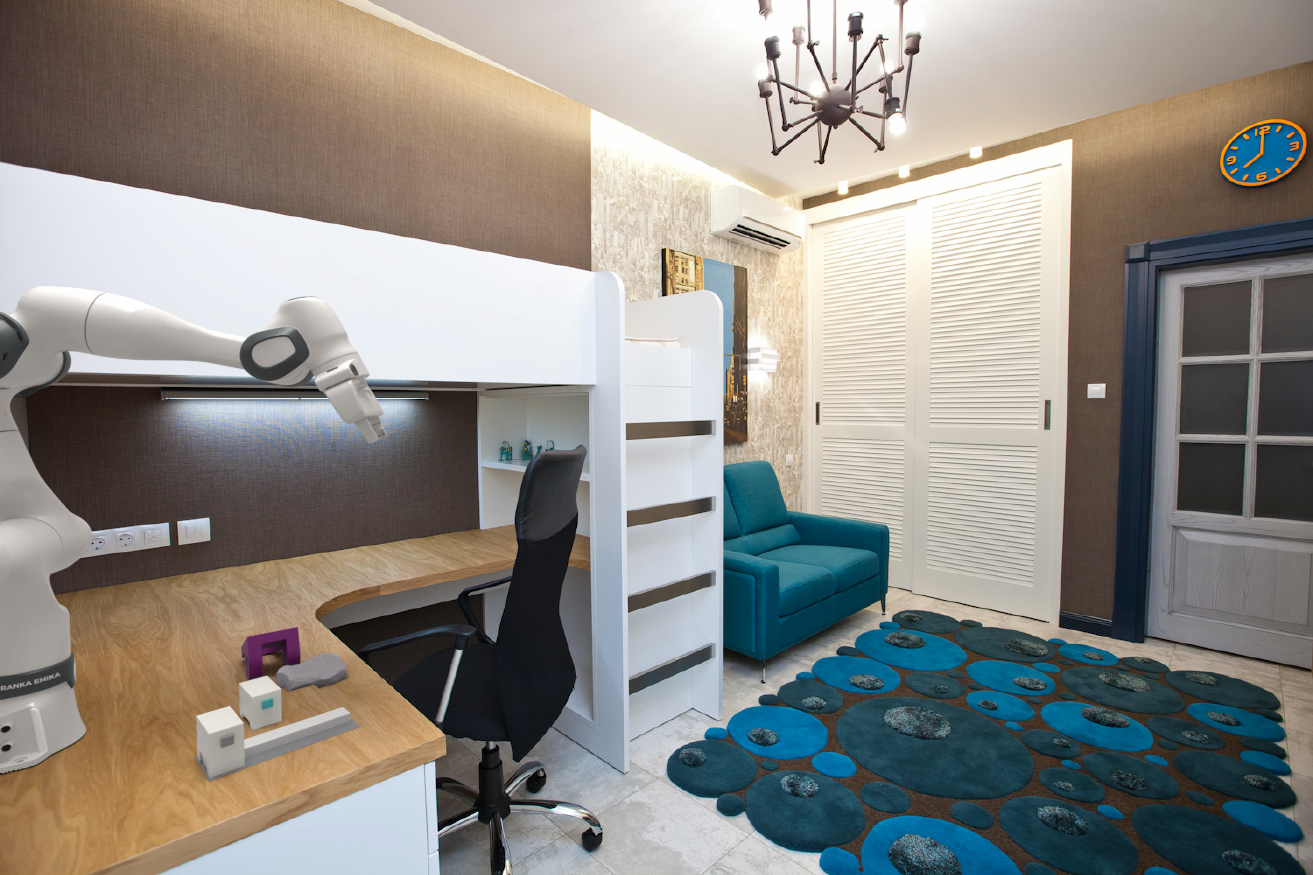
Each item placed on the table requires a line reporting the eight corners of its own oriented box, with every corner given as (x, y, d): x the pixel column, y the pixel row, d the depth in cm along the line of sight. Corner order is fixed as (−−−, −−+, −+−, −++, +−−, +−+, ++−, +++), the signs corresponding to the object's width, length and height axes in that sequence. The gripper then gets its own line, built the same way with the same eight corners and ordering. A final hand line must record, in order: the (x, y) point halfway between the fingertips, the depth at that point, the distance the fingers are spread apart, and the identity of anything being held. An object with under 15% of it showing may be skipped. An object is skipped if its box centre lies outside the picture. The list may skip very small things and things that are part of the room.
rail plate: (209, 787, 91) (208, 771, 91) (194, 762, 98) (194, 747, 98) (360, 731, 107) (360, 717, 107) (339, 713, 114) (338, 700, 114)
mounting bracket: (242, 688, 138) (249, 677, 126) (239, 651, 141) (246, 636, 128) (289, 677, 145) (301, 665, 132) (286, 641, 147) (297, 626, 134)
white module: (253, 736, 106) (253, 698, 106) (239, 719, 112) (239, 683, 112) (283, 727, 109) (282, 689, 109) (267, 710, 115) (267, 675, 115)
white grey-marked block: (210, 779, 91) (209, 735, 91) (197, 757, 98) (196, 715, 97) (245, 767, 95) (244, 724, 94) (230, 746, 101) (229, 705, 101)
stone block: (352, 685, 131) (332, 665, 137) (353, 665, 130) (333, 645, 136) (291, 708, 121) (273, 684, 128) (292, 686, 121) (273, 664, 127)
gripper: (340, 384, 126) (374, 443, 128) (311, 382, 106) (351, 452, 109) (370, 371, 127) (402, 430, 130) (346, 366, 108) (385, 436, 110)
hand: (379, 440), depth 119 cm, fingers open, 8 cm apart
